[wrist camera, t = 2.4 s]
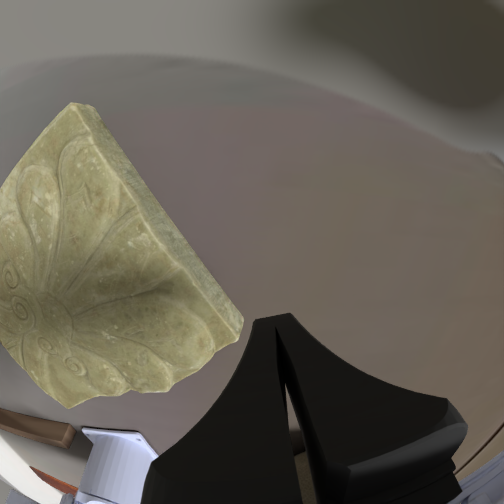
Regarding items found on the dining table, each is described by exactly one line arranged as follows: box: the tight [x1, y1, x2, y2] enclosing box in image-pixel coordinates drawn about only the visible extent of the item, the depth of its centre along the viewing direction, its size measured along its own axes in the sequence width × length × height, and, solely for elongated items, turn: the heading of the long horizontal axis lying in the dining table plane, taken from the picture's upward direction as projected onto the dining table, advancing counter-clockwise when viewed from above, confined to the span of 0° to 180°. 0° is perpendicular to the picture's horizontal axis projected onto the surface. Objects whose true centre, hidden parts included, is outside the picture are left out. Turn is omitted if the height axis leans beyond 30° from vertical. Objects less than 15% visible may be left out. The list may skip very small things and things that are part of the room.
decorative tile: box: [0, 103, 244, 409], centre depth 17 cm, size 18×20×4 cm
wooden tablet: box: [29, 466, 78, 497], centre depth 32 cm, size 27×10×2 cm, turn 75°
